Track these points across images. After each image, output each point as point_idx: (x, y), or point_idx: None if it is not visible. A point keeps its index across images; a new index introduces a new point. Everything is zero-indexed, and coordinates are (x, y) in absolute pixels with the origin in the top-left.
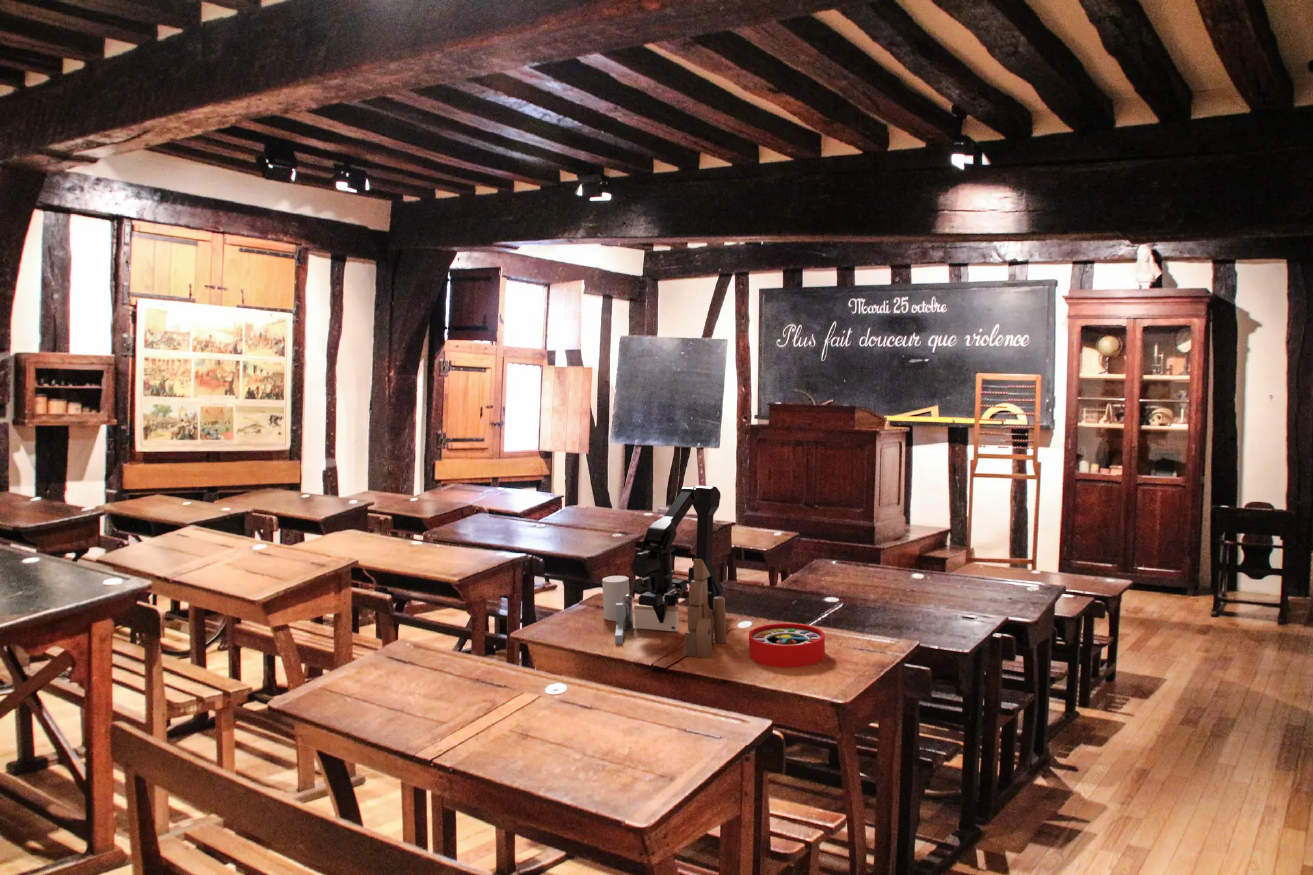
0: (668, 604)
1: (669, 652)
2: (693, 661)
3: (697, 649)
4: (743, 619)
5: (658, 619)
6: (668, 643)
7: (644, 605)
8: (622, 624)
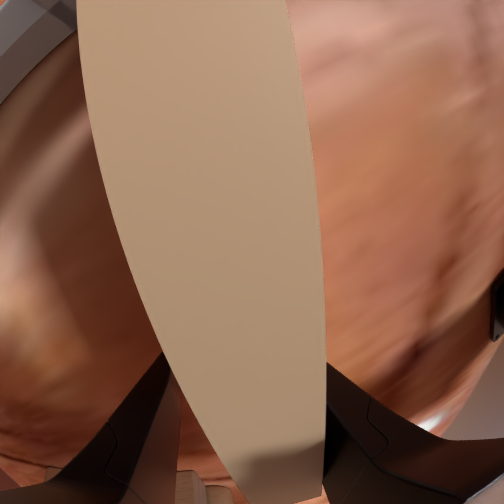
0: (336, 469)
1: (22, 433)
2: (43, 479)
3: None
4: (450, 407)
5: (148, 371)
6: (71, 407)
7: (185, 160)
8: (17, 31)
